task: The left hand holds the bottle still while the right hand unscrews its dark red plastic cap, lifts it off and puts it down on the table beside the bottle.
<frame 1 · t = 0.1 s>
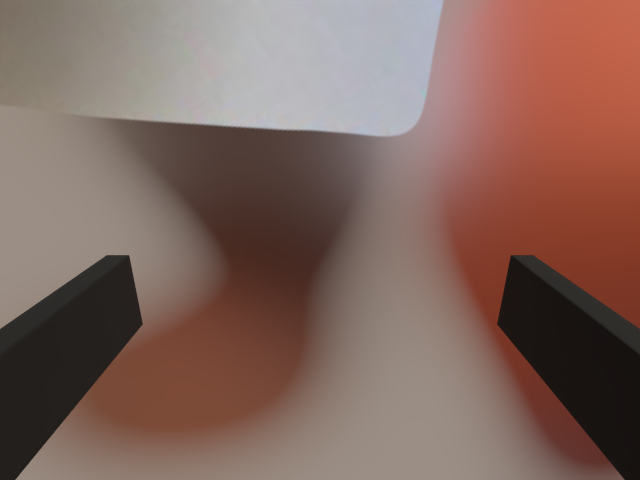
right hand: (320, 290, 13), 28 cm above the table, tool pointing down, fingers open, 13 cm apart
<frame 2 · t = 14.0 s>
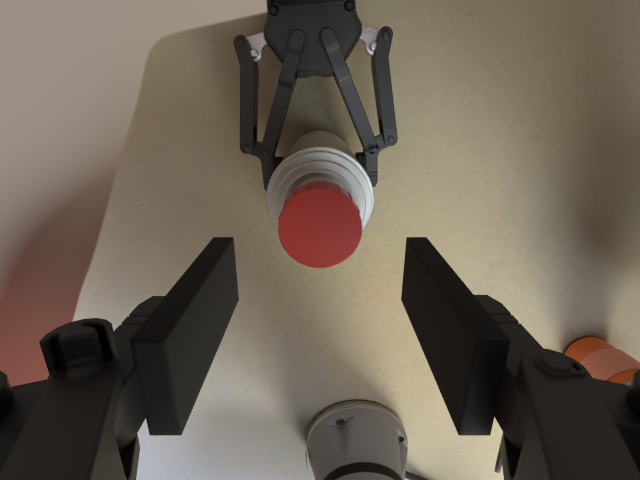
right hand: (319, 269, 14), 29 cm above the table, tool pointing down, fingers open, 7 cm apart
left hand: (322, 219, 37), fingers closed on bottle, 7 cm apart
bottle: (320, 163, 42), on the table, touching left hand
cup with straw: (584, 353, 51), on the table
cap: (320, 227, 19), point 24 cm above the table, screwed on, not yet turned
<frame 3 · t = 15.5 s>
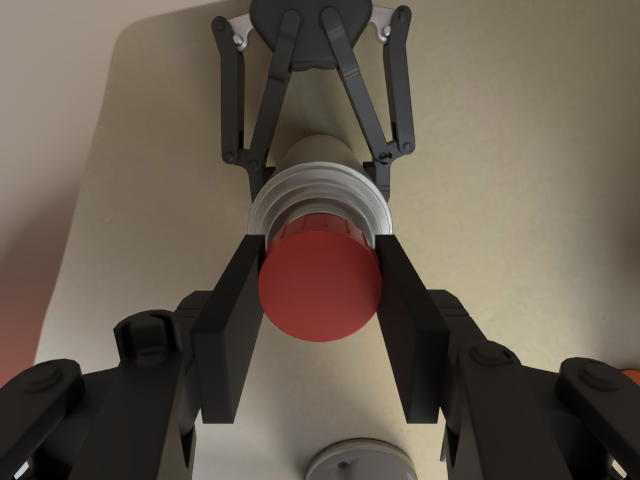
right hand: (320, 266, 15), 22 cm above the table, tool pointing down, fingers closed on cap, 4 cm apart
left hand: (323, 242, 31), fingers closed on bottle, 7 cm apart
bottle: (320, 172, 35), on the table, touching left hand
cup with straw: (621, 388, 45), on the table
cap: (320, 285, 13), point 24 cm above the table, screwed on, not yet turned, touching right hand
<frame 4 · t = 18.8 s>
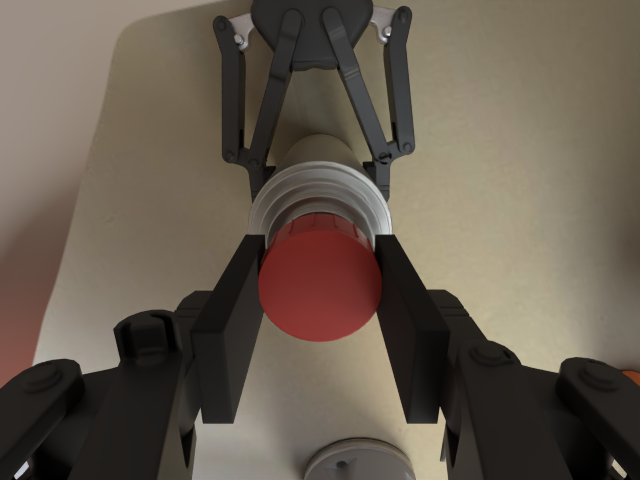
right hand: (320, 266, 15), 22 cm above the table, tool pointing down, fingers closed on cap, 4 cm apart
left hand: (322, 241, 31), fingers closed on bottle, 7 cm apart
bottle: (320, 172, 35), on the table, touching left hand
cap: (320, 285, 13), point 24 cm above the table, turned 97° so far, risen 0.1 cm, still on its thread, touching right hand
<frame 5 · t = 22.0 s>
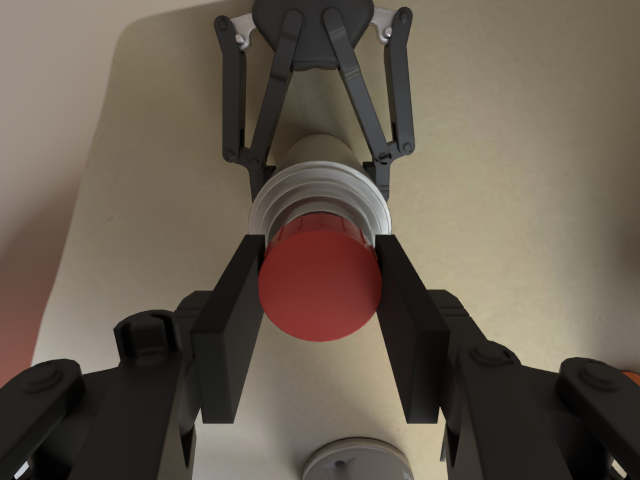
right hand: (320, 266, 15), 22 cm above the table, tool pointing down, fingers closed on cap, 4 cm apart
left hand: (322, 241, 31), fingers closed on bottle, 7 cm apart
bottle: (320, 172, 36), on the table, touching left hand
cap: (320, 285, 13), point 24 cm above the table, turned 195° so far, risen 0.2 cm, still on its thread, touching right hand
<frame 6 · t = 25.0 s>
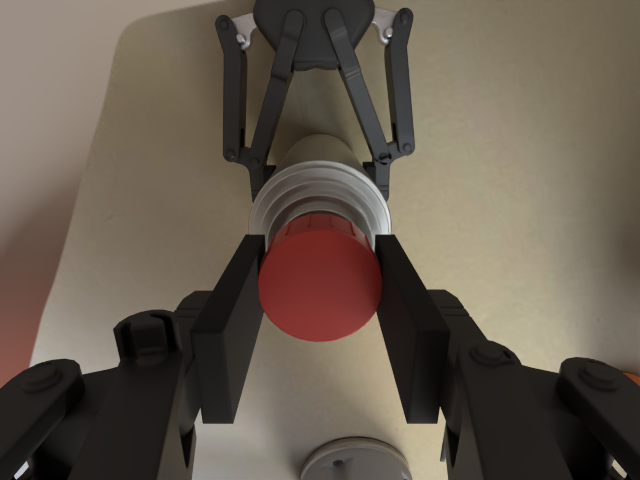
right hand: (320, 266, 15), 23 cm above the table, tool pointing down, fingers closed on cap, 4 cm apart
left hand: (322, 240, 31), fingers closed on bottle, 7 cm apart
bottle: (320, 172, 36), on the table, touching left hand
cap: (320, 285, 13), point 24 cm above the table, turned 292° so far, risen 0.3 cm, still on its thread, touching right hand
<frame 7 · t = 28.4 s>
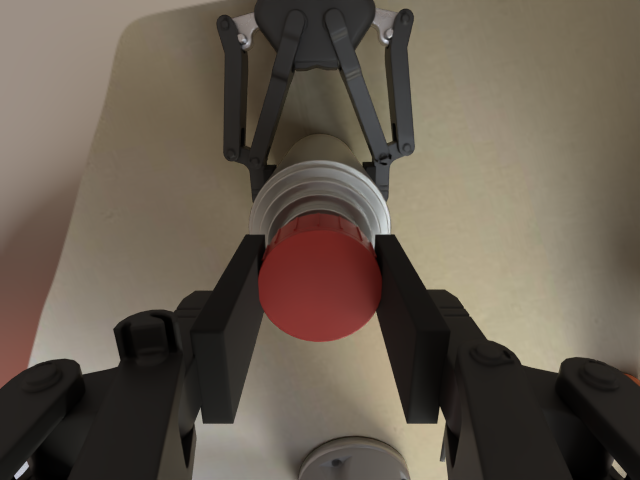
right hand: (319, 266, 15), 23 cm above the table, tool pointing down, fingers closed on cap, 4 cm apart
left hand: (321, 240, 31), fingers closed on bottle, 7 cm apart
bottle: (320, 172, 36), on the table, touching left hand
cap: (319, 285, 13), point 24 cm above the table, turned 390° so far, risen 0.4 cm, still on its thread, touching right hand
when the right hand's fingers open (1 cm above the table, at t = 36.9 s): cap drops 1 cm, point 2 cm above the table.
when the left hand's fingers open (6 cm above the table, at t = 38.1 s): bottle stays where it is, on the table.
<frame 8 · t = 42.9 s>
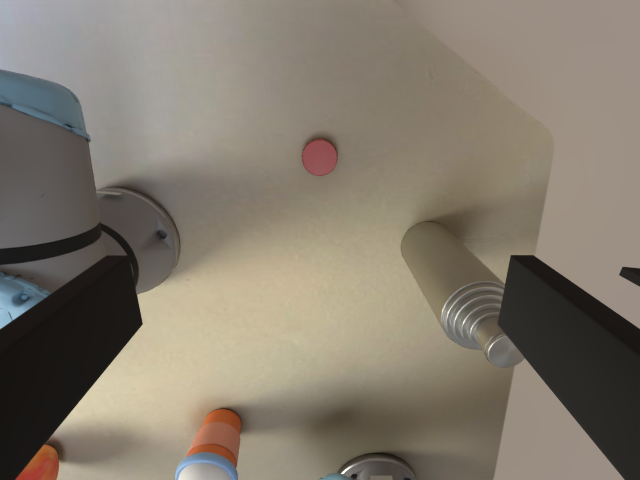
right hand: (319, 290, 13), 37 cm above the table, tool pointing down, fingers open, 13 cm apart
bottle: (426, 245, 51), on the table
cup with straw: (224, 421, 63), on the table
cap: (319, 157, 46), point 2 cm above the table, off its thread
apple: (46, 449, 65), on the table
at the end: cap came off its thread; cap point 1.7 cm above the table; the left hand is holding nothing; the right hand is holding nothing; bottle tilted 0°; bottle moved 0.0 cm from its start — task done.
